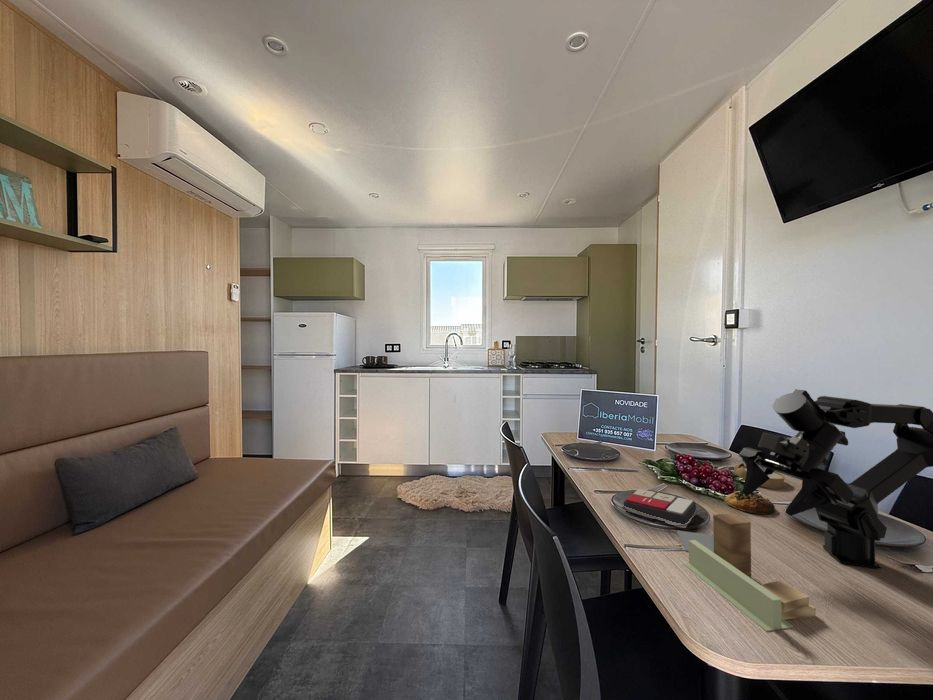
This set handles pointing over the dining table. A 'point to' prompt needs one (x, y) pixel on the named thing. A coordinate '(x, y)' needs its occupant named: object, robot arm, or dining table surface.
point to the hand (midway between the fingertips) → (764, 503)
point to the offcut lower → (799, 613)
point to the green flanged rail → (737, 588)
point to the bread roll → (750, 503)
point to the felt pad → (701, 538)
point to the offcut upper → (787, 595)
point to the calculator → (661, 505)
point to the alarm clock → (775, 478)
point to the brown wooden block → (733, 540)
